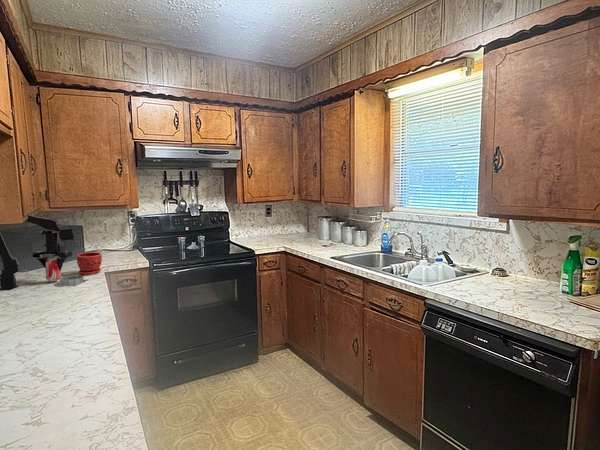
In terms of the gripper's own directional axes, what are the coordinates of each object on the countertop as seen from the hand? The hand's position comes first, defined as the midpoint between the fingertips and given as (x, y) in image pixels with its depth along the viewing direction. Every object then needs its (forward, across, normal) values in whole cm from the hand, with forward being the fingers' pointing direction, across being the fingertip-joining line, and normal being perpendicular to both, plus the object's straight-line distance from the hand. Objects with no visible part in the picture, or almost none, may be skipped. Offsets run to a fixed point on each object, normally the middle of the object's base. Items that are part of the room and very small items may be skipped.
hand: (53, 269), depth 202 cm
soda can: (+6, 0, 0) cm, 6 cm away
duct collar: (+7, -11, +2) cm, 13 cm away
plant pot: (+7, -9, -20) cm, 23 cm away
